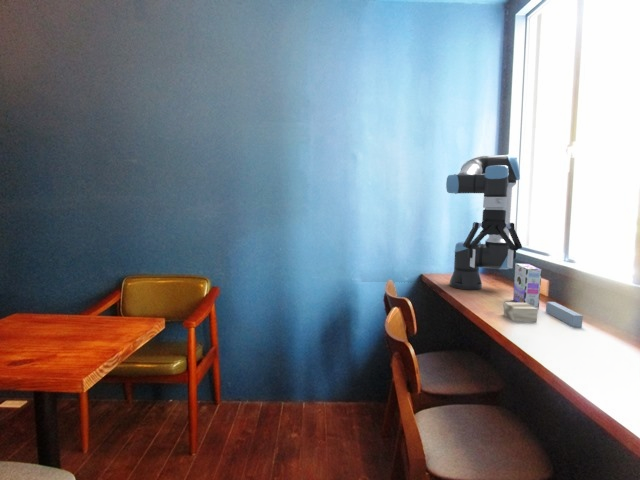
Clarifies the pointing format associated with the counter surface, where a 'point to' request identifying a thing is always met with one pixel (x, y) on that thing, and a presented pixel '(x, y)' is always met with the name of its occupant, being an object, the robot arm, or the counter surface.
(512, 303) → the block
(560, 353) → the counter surface
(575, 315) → the blue-grey bar
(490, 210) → the robot arm
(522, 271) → the candy box
